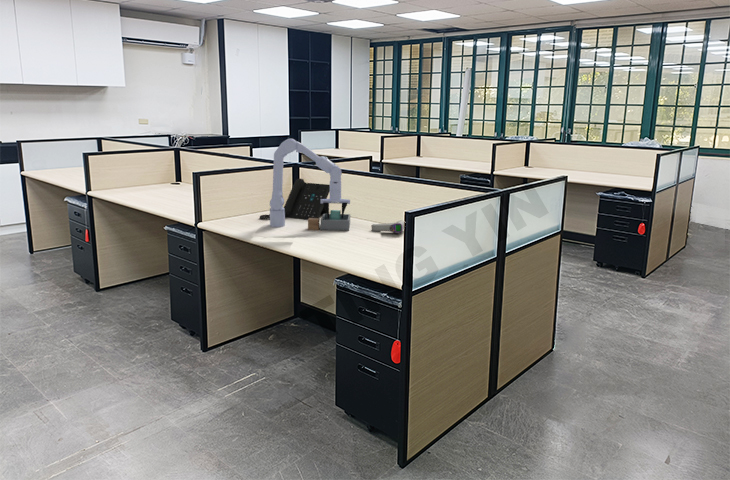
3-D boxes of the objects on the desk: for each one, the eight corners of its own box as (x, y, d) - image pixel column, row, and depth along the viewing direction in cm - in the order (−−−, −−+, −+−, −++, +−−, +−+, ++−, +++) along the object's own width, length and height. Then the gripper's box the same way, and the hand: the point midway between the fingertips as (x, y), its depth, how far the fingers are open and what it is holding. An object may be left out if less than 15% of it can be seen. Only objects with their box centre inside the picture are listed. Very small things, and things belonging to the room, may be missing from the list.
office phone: (256, 219, 289) (255, 181, 285) (287, 211, 314) (287, 176, 310) (302, 224, 276) (302, 184, 272) (331, 216, 301) (331, 179, 297)
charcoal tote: (323, 223, 278) (323, 213, 277) (350, 224, 278) (350, 214, 277) (320, 230, 261) (320, 219, 260) (349, 230, 261) (349, 220, 260)
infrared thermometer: (370, 223, 260) (401, 223, 256) (376, 219, 271) (406, 219, 267) (371, 233, 261) (402, 233, 257) (377, 228, 272) (407, 228, 268)
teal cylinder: (328, 224, 272) (328, 210, 270) (334, 223, 276) (334, 209, 274) (335, 226, 269) (336, 211, 267) (342, 224, 273) (342, 210, 271)
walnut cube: (309, 228, 266) (309, 218, 265) (319, 228, 266) (319, 218, 265) (308, 230, 262) (307, 219, 260) (318, 230, 261) (318, 219, 260)
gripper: (319, 191, 265) (319, 219, 268) (349, 191, 265) (349, 219, 268) (321, 189, 272) (321, 216, 275) (350, 190, 272) (350, 217, 275)
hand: (335, 217), depth 272 cm, fingers open, 6 cm apart
